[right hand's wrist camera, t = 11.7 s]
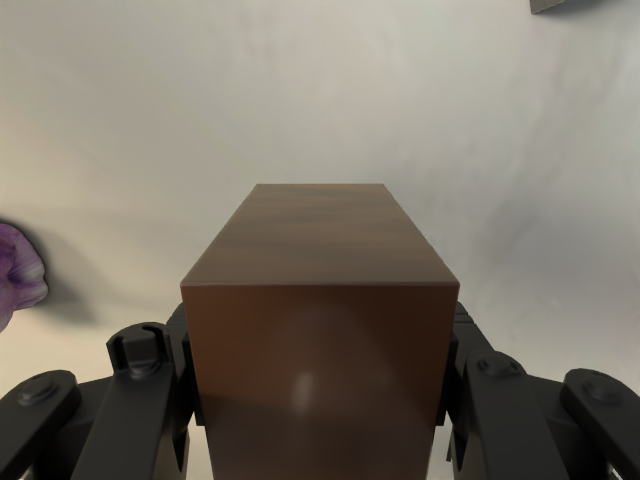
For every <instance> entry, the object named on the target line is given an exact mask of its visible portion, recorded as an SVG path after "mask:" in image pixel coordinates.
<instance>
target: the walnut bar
mask: <svg viewBox="0 0 640 480" xmlns="http://www.w3.org/2000/svg"><path fill="white" fill-rule="evenodd" d="M180 288H181V294H182V300H183V305H184V311H185V317H186V322H187V328H188V334H189V340H190V345H191V351H192V357H193V363H194V368H195V374H196V380H197V385H198V391H199V397H200V403H201V408H202V414H203V420H204V426H205V431H206V437H207V443H208V449H209V454H210V460H211V466H212V471H213V477H214V480H427V474H428V468H429V463H430V457H431V451H432V445H433V439H434V434H435V428H436V422H437V416H438V410H439V404H440V399H441V393H442V387H443V381H444V375H445V370H446V364H447V358H448V352H449V346H450V340H451V335H452V329H453V323H454V317H455V311H456V306H457V300H458V294H459V288H460V283H459V281H458V280H457V278H456V277H455V276H454V275H453V273H452V272H451V271H450V269H449V268H448V267H447V266H446V264H445V263H444V262H443V260H442V259H441V258H440V257H439V255H438V254H437V253H436V251H435V250H434V249H433V248H432V246H431V245H430V244H429V242H428V241H427V240H426V239H425V237H424V236H423V235H422V233H421V232H420V231H419V230H418V228H417V227H416V226H415V224H414V223H413V222H412V221H411V219H410V218H409V217H408V215H407V214H406V213H405V212H404V210H403V209H402V208H401V206H400V205H399V204H398V203H397V201H396V200H395V199H394V197H393V196H392V195H391V194H390V192H389V191H388V190H387V188H386V187H385V186H384V185H383V184H257V185H256V186H255V187H254V189H253V190H252V191H251V192H250V194H249V195H248V196H247V198H246V199H245V200H244V201H243V203H242V204H241V205H240V207H239V208H238V209H237V210H236V212H235V213H234V214H233V216H232V217H231V218H230V219H229V221H228V222H227V223H226V225H225V226H224V227H223V229H222V230H221V231H220V232H219V234H218V235H217V236H216V238H215V239H214V240H213V241H212V243H211V244H210V245H209V247H208V248H207V249H206V250H205V252H204V253H203V254H202V256H201V257H200V258H199V259H198V261H197V262H196V263H195V265H194V266H193V267H192V268H191V270H190V271H189V272H188V274H187V275H186V276H185V278H184V279H183V280H182V281H181V283H180Z"/></svg>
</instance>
